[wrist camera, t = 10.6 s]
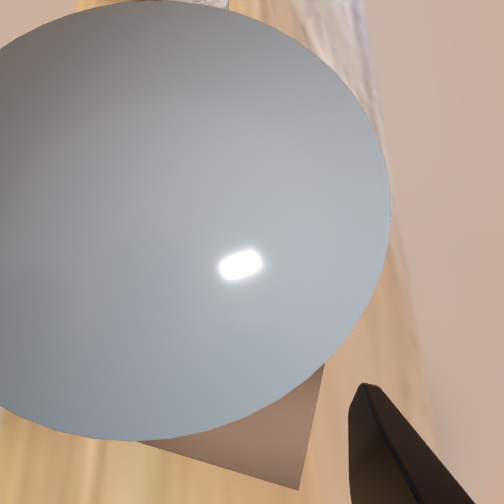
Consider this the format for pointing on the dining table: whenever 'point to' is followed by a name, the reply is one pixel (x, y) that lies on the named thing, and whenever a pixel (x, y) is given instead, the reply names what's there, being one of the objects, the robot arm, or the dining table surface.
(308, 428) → the walnut box
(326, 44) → the dining table surface
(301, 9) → the dining table surface
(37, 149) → the grey cylinder
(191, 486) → the dining table surface
